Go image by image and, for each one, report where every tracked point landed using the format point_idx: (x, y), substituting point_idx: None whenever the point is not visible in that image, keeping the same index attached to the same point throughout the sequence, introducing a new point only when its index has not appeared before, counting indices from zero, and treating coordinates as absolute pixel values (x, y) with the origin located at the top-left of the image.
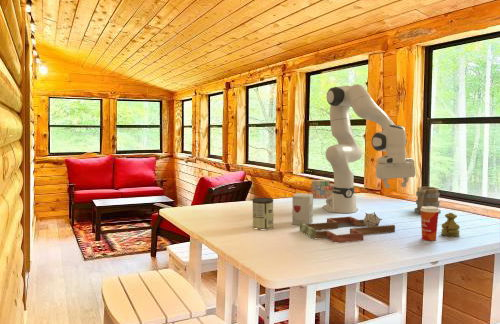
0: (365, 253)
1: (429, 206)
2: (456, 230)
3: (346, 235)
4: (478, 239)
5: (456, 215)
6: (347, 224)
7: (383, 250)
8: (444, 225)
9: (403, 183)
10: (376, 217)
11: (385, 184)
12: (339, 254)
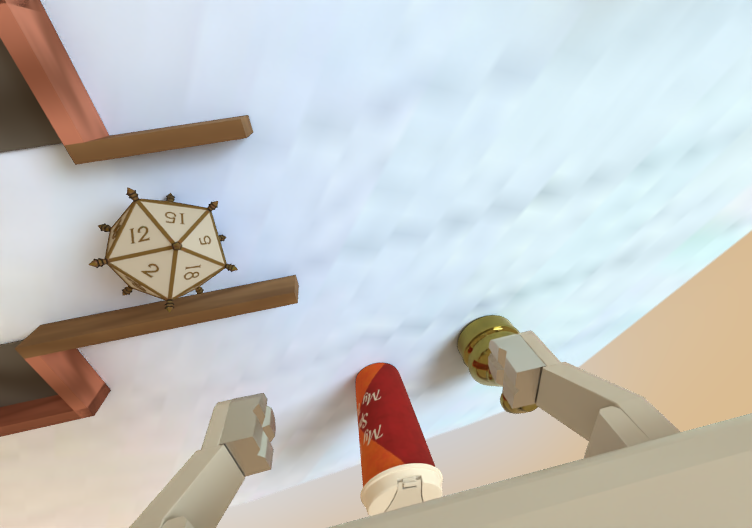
0: (104, 492)
1: (422, 487)
2: None
3: (5, 433)
4: None
5: None
6: (6, 94)
7: (172, 469)
8: (474, 372)
9: (511, 400)
10: (187, 290)
11: (208, 448)
12: (8, 505)
